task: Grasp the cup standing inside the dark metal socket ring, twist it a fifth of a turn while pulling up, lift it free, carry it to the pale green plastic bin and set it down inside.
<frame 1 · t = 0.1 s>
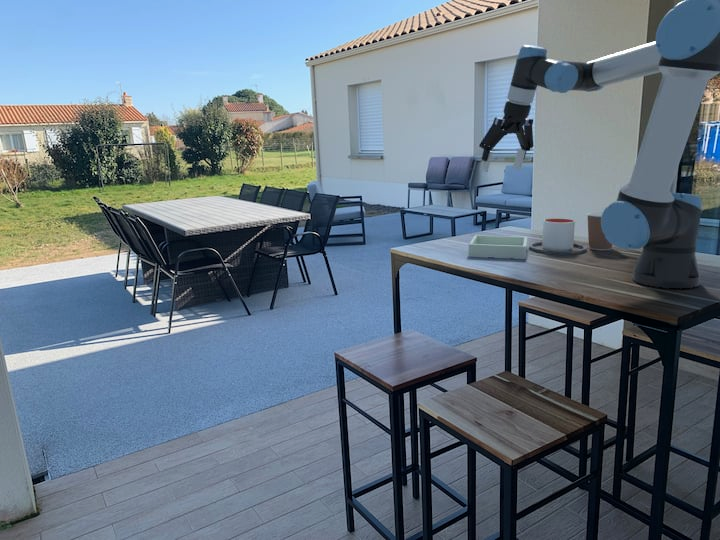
hand: (500, 169, 163), 28 cm above the table, tool tilted 20°, fingers open, 13 cm apart
coffee cup: (600, 249, 176), on the table
bin: (498, 252, 174), on the table
cup: (557, 249, 177), resting in socket ring
socket ring: (557, 249, 177), on the table
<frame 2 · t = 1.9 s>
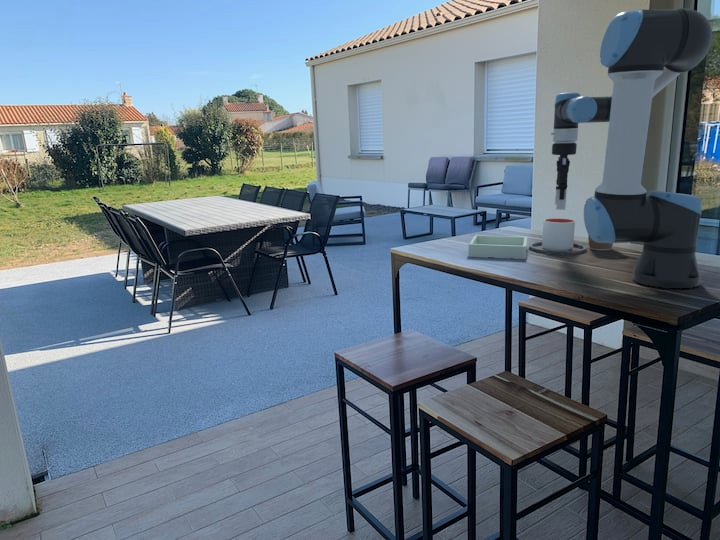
hand: (559, 206, 174), 15 cm above the table, tool pointing down, fingers open, 13 cm apart
nothing on the table moved.
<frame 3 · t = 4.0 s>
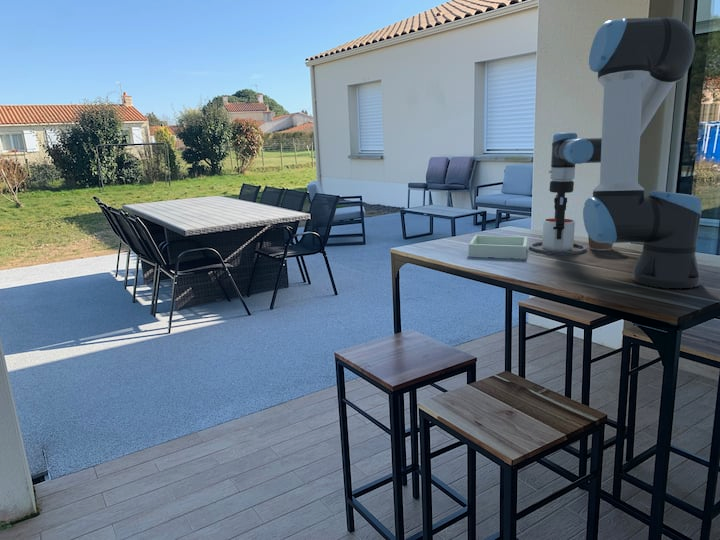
hand: (557, 245, 177), 1 cm above the table, tool pointing down, fingers closed on cup, 10 cm apart
cup: (557, 249, 177), resting in socket ring, touching gripper
everything else where it was.
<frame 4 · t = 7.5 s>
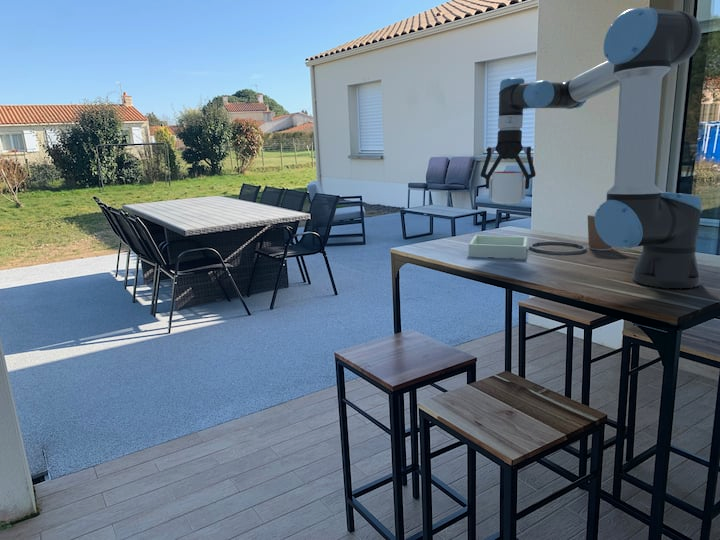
hand: (506, 198, 170), 18 cm above the table, tool pointing down, fingers closed on cup, 10 cm apart
cup: (506, 203, 171), point 17 cm above the table, touching gripper
everything else where it was.
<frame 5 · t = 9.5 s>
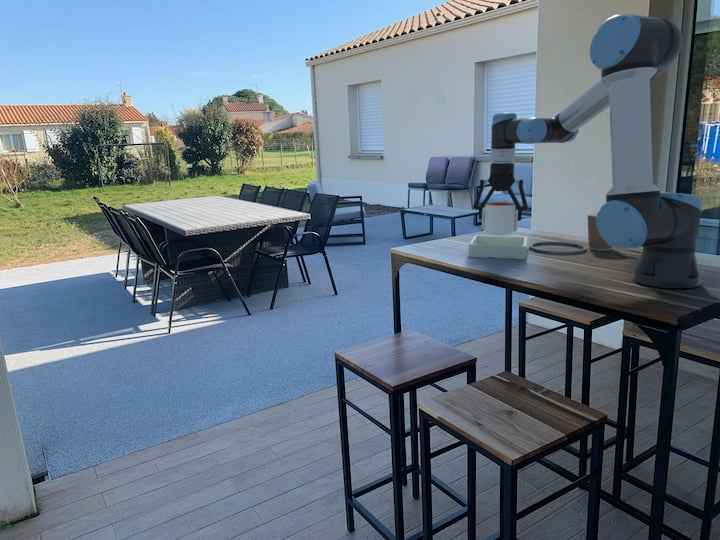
hand: (499, 229, 172), 8 cm above the table, tool pointing down, fingers closed on cup, 10 cm apart
cup: (499, 234, 173), point 6 cm above the table, touching gripper
everything else where it was.
when the fingers open (5 cm above the table, at t = 11.1 s): cup drops 3 cm, resting on bin.
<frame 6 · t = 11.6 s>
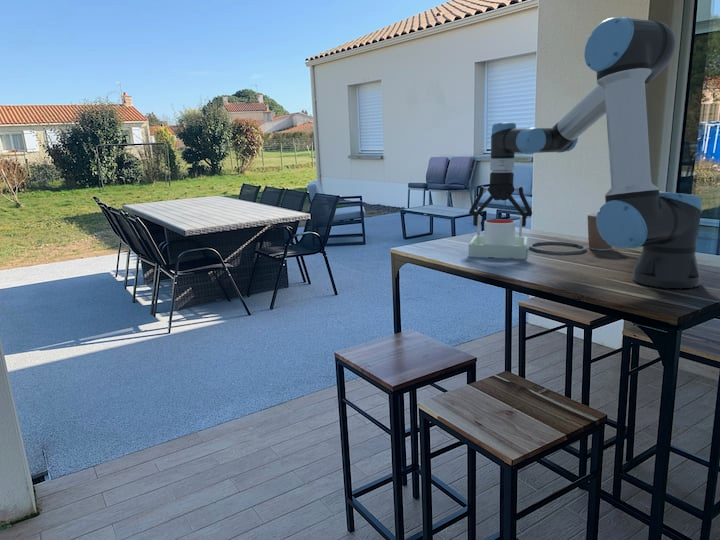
hand: (499, 235, 173), 6 cm above the table, tool pointing down, fingers open, 13 cm apart
cup: (498, 251, 174), resting on bin
everything else where it was.
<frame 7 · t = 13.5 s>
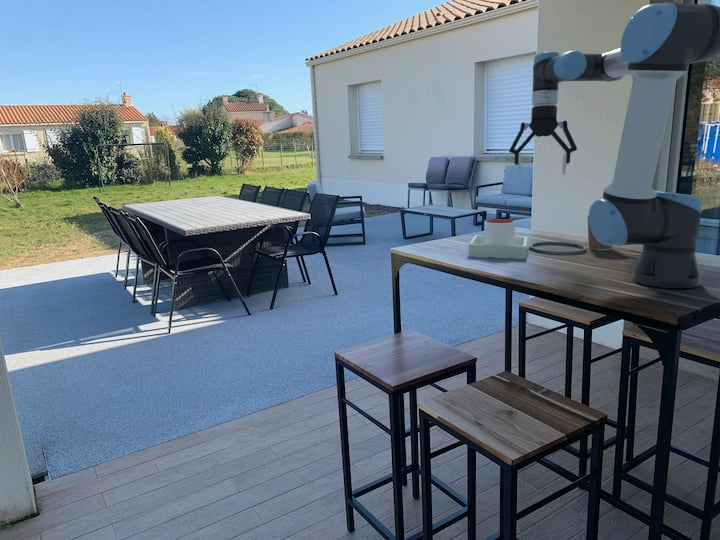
hand: (541, 174, 165), 26 cm above the table, tool pointing down, fingers open, 13 cm apart
nothing on the table moved.
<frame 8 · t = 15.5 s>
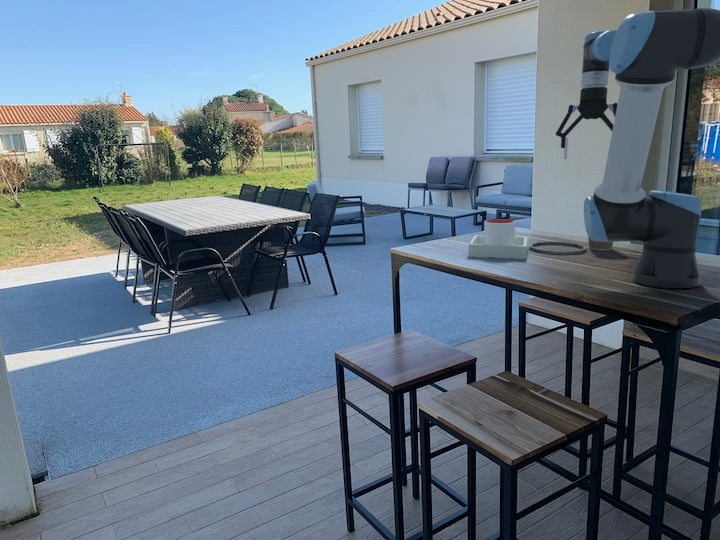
hand: (588, 158, 161), 31 cm above the table, tool pointing down, fingers open, 13 cm apart
nothing on the table moved.
at the end: cup inside the target area on the bin (0.0 cm from its centre), point 0.4 cm above the bin's base; cup tilted 0°; the gripper is holding nothing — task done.
